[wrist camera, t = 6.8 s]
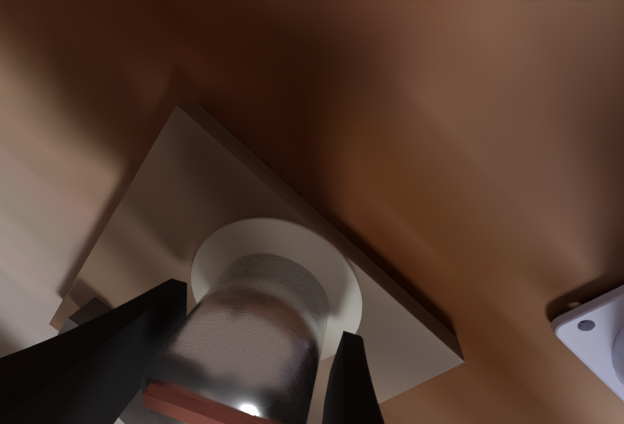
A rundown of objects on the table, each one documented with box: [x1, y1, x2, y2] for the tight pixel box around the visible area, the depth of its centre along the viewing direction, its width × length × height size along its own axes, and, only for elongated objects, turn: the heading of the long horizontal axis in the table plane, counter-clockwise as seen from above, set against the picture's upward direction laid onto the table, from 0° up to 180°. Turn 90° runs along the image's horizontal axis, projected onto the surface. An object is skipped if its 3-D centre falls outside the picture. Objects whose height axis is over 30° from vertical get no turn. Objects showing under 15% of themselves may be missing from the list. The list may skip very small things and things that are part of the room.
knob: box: [141, 253, 330, 424], centre depth 10 cm, size 5×5×5 cm
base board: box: [49, 102, 465, 424], centre depth 13 cm, size 15×14×3 cm
